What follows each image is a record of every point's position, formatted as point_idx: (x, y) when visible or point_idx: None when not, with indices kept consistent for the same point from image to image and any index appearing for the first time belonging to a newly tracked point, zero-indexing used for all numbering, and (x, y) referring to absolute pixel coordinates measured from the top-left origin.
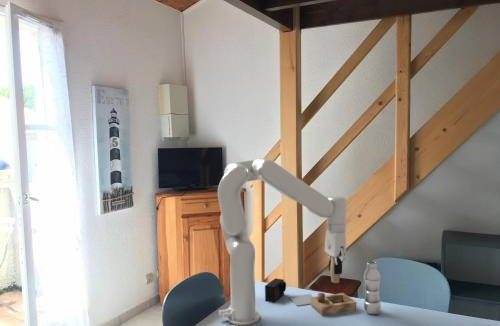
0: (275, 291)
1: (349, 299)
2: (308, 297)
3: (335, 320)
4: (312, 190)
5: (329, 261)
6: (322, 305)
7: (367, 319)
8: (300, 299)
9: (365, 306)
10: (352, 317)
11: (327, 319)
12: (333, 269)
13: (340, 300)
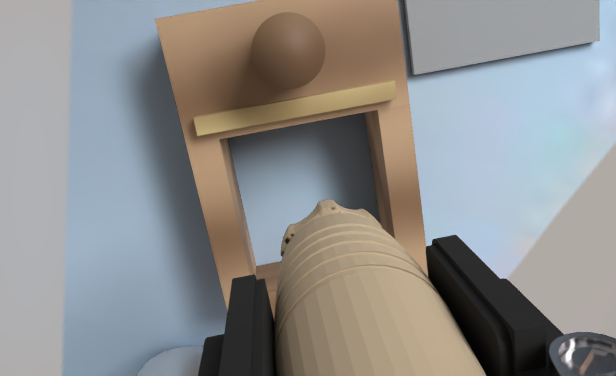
0: None
1: None
2: (528, 7)
3: (87, 107)
4: None
5: (511, 325)
6: (193, 36)
7: (94, 320)
8: None
9: (166, 365)
10: (131, 238)
11: (107, 51)
12: (294, 298)
13: None
